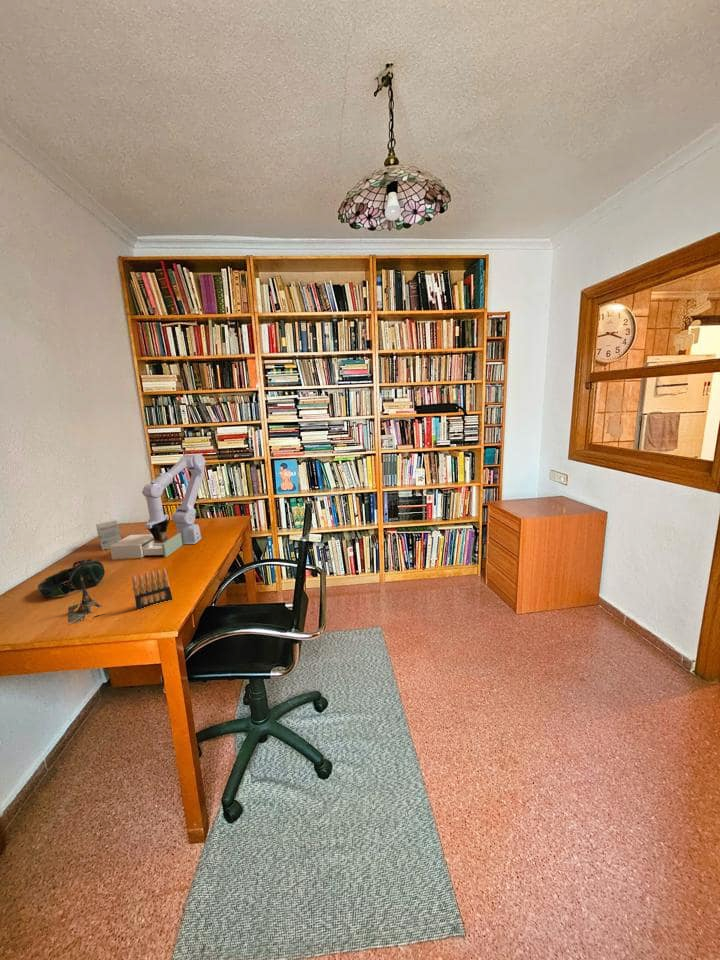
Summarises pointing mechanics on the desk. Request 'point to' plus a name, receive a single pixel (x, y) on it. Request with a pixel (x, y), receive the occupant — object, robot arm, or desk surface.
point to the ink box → (108, 533)
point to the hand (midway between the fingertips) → (160, 538)
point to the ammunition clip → (151, 589)
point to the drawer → (163, 546)
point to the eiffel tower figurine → (81, 606)
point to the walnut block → (162, 538)
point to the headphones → (72, 578)
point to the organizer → (130, 546)
